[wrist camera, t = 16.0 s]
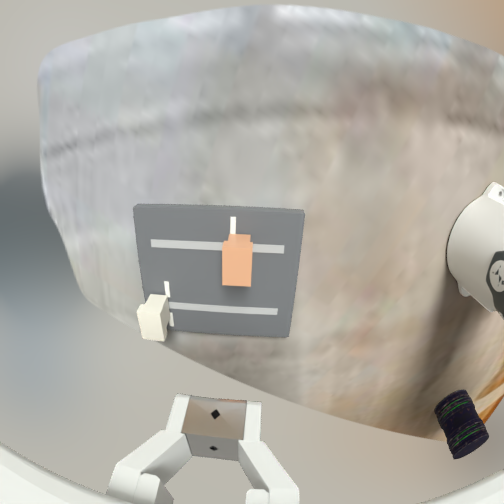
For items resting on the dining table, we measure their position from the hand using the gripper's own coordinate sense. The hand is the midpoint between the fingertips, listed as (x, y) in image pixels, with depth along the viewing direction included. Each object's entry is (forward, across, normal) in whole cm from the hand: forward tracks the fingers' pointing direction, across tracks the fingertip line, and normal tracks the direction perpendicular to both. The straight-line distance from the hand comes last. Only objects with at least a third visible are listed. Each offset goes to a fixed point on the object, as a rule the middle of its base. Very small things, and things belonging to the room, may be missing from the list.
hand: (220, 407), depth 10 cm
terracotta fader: (+25, +2, +6) cm, 26 cm away
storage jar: (+29, -50, +46) cm, 74 cm away
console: (+27, +4, +10) cm, 29 cm away
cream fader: (+25, +12, +14) cm, 31 cm away
